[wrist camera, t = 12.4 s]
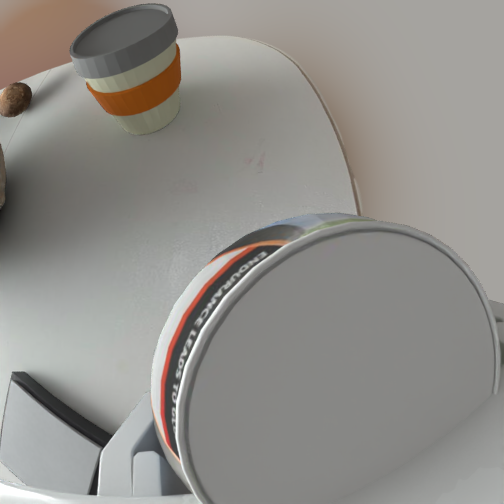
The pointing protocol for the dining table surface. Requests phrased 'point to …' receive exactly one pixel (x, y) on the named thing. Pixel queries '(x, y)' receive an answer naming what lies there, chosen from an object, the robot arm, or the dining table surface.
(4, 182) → the bowl
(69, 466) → the kitchen scale
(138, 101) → the reusable coffee cup
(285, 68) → the dining table surface
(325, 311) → the beverage can
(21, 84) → the brown potato
